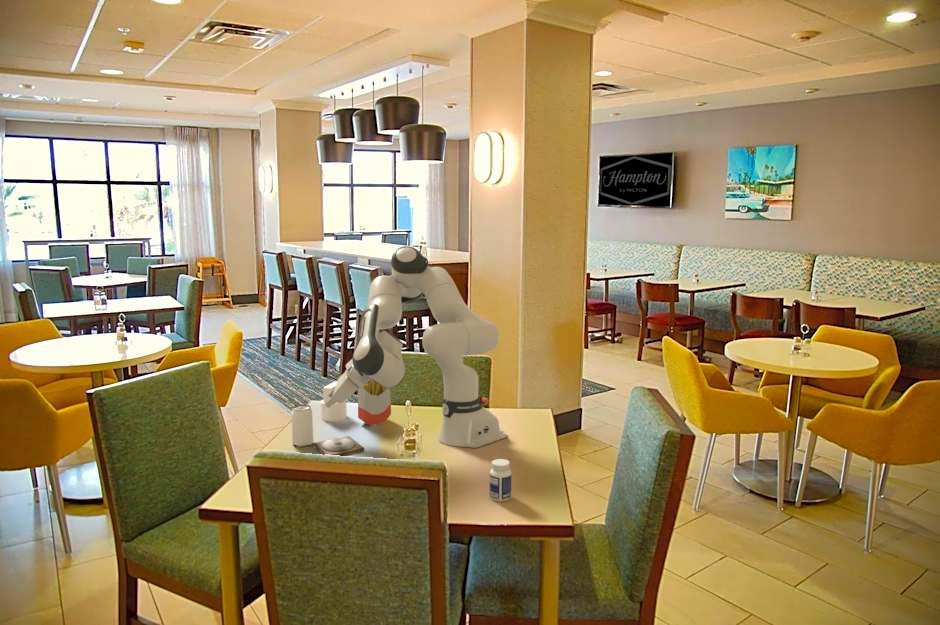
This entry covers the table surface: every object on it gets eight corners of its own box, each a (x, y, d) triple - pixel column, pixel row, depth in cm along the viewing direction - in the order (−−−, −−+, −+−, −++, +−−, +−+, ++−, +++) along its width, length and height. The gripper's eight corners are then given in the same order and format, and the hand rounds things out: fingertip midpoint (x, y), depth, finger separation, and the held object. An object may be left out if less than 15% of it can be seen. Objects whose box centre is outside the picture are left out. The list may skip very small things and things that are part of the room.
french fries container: (391, 421, 238) (391, 371, 235) (365, 427, 231) (364, 376, 228) (384, 417, 242) (383, 368, 239) (358, 424, 235) (357, 374, 232)
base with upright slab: (329, 412, 248) (328, 380, 246) (351, 414, 245) (350, 382, 243) (316, 419, 239) (315, 386, 237) (338, 422, 236) (338, 389, 234)
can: (308, 448, 213) (306, 411, 211) (288, 446, 214) (287, 409, 212) (316, 440, 219) (315, 405, 217) (297, 439, 220) (296, 403, 218)
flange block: (348, 439, 221) (348, 434, 221) (364, 450, 211) (364, 445, 211) (313, 446, 214) (313, 441, 214) (327, 458, 205) (327, 453, 204)
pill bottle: (510, 492, 183) (510, 457, 181) (512, 502, 177) (512, 466, 175) (488, 493, 182) (489, 457, 181) (490, 502, 177) (490, 466, 175)
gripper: (354, 356, 224) (325, 385, 225) (349, 372, 204) (317, 404, 205) (368, 369, 226) (339, 397, 227) (364, 387, 206) (332, 418, 207)
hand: (328, 401), depth 216 cm, fingers open, 8 cm apart
